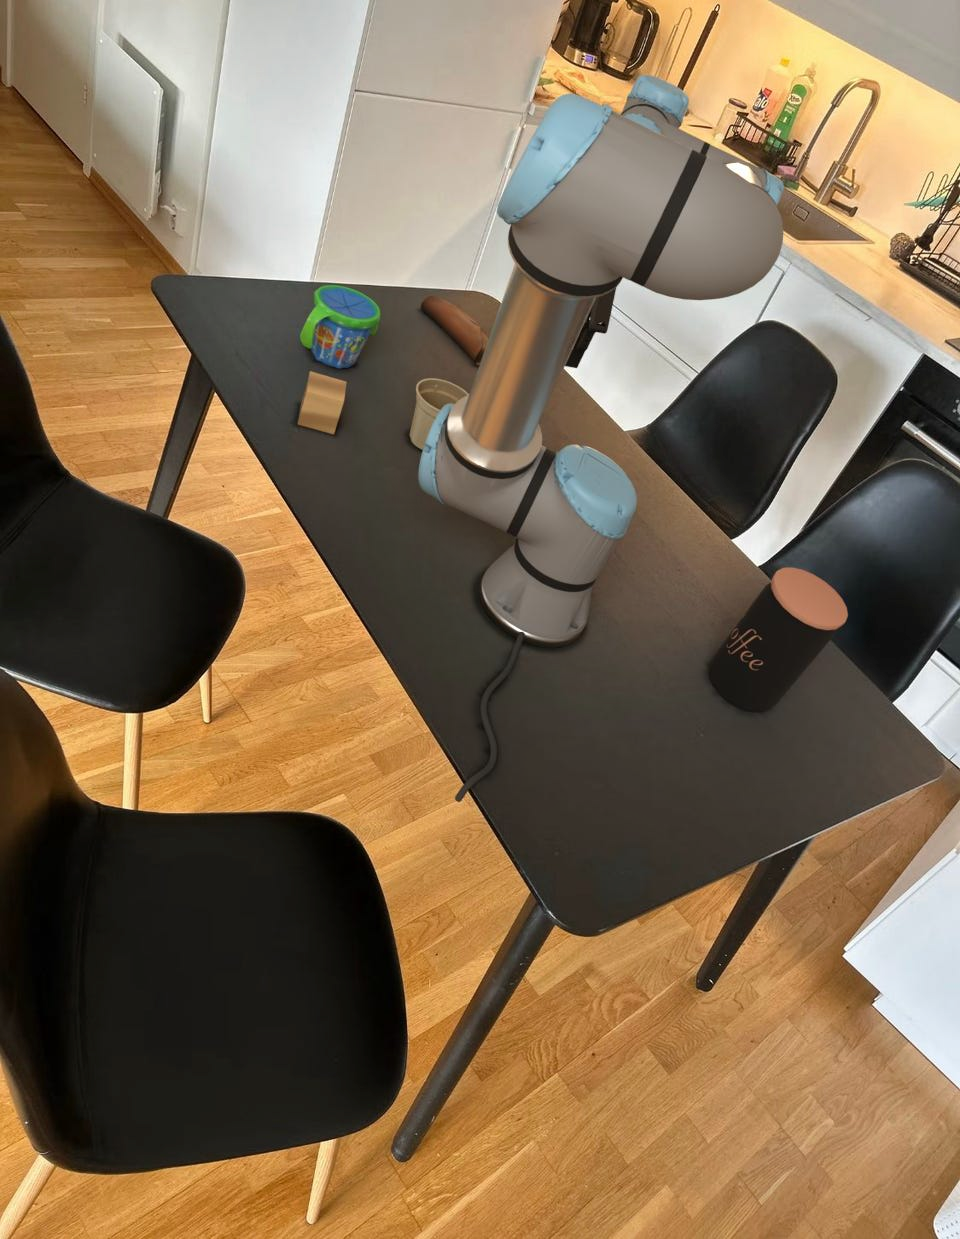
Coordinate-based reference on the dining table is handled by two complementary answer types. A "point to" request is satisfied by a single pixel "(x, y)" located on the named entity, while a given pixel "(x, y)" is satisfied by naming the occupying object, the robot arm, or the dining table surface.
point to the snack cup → (339, 325)
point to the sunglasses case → (457, 326)
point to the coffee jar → (776, 640)
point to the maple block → (322, 403)
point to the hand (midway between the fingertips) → (552, 340)
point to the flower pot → (431, 406)
